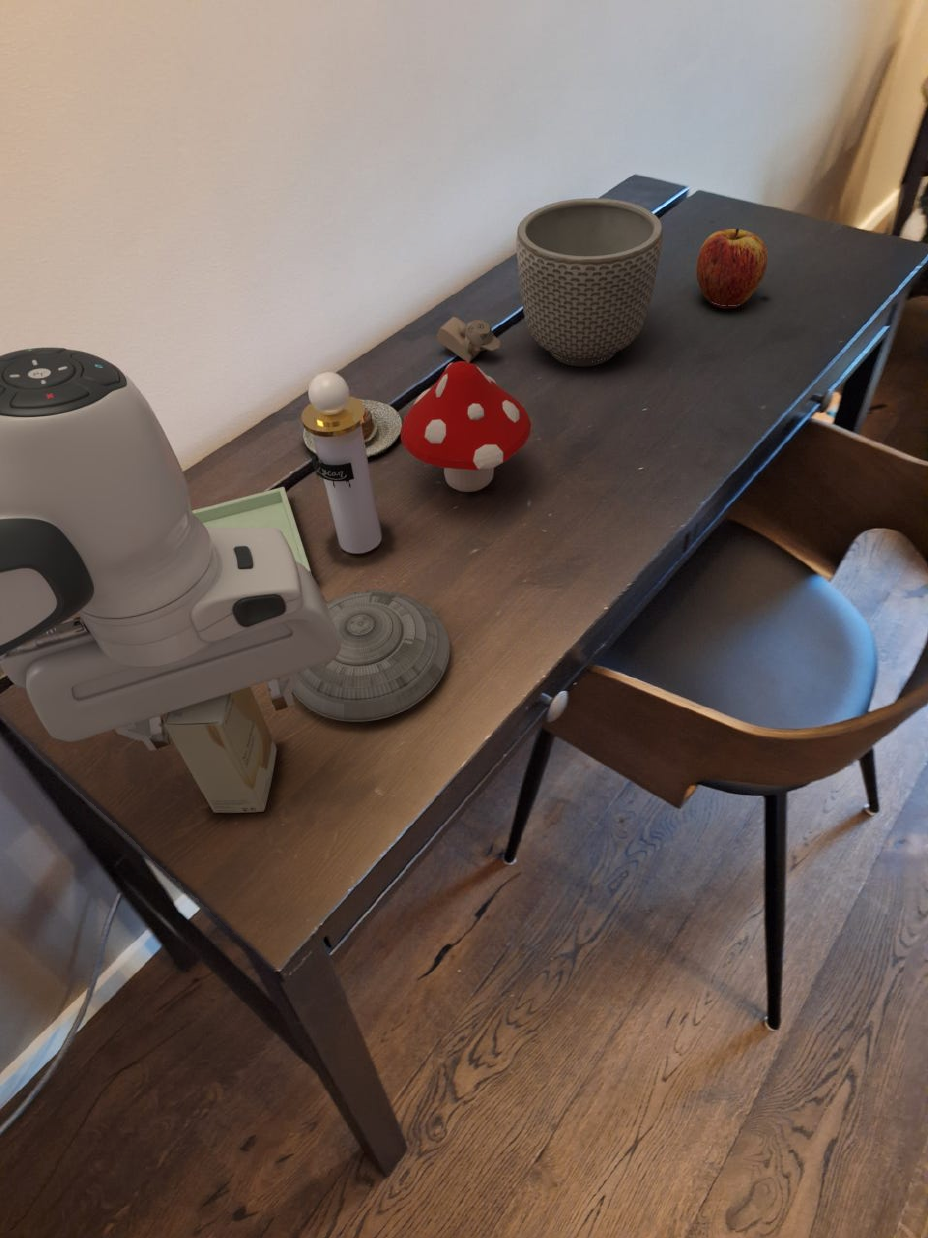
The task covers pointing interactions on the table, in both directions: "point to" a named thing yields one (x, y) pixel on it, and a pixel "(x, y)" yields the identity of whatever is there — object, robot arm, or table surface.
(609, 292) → the planter
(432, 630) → the flying saucer
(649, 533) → the table surface
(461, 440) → the decorative mushroom
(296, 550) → the tray
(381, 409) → the grey speckled shallow bowl
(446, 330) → the toy character
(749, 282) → the apple
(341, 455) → the perfume bottle
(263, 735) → the cosmetic box
